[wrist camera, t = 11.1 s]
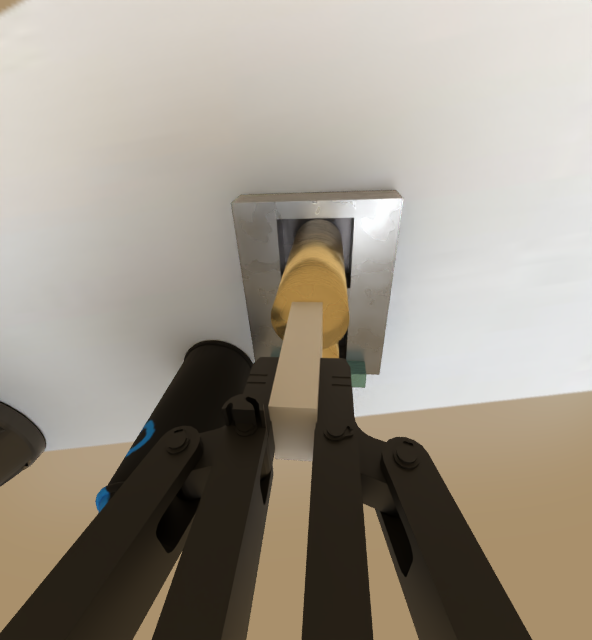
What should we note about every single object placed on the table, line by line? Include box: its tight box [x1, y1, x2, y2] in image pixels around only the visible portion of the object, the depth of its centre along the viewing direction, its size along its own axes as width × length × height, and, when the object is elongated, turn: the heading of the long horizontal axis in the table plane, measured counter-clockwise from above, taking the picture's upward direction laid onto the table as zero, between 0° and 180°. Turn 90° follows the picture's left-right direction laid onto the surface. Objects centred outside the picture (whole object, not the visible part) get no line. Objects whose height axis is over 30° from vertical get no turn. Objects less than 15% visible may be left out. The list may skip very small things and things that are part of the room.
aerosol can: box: [96, 341, 253, 551], centre depth 27 cm, size 8×8×20 cm
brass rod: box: [271, 219, 349, 349], centre depth 21 cm, size 4×4×12 cm
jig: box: [231, 190, 404, 388], centre depth 25 cm, size 12×16×6 cm
